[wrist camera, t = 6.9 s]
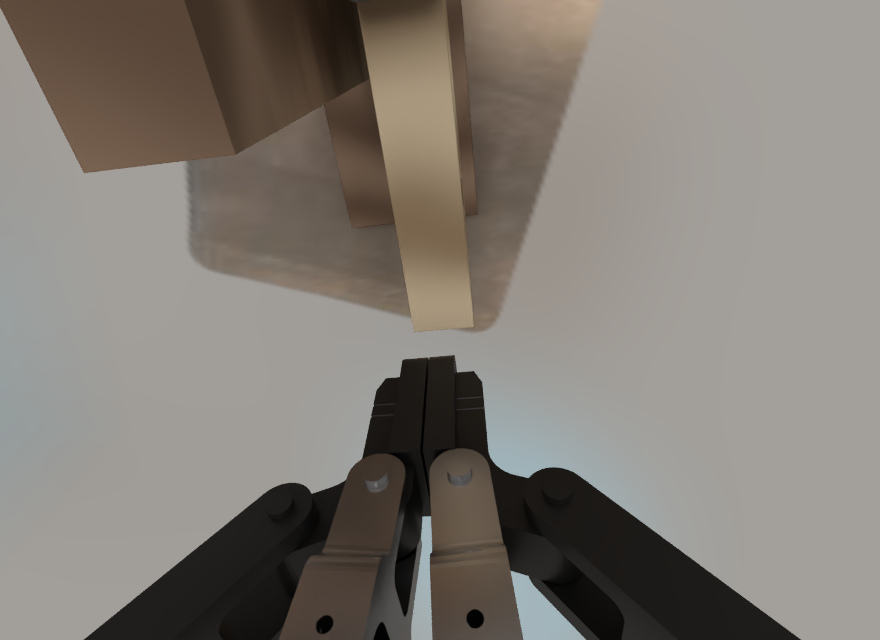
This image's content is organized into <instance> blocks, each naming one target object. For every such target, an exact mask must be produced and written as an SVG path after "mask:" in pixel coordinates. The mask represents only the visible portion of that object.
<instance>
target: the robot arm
mask: <svg viewBox="0 0 880 640" xmlns="http://www.w3.org/2000/svg"><path fill="white" fill-rule="evenodd" d="M371 416H372V418H371V420H370V425H369V429H368V434H367V439H366V444H365V448H364V453H363V458H362V460H360V461H359V462H358V463H356V464H355V465H354V466H353V468H352V469H351V470H350V472H349V474H348V476H347V479H346V480H345V481H344V482H342V483H340V484H339V485H336V486H334V487H331V488H328V489H325V490H322V491H319V492H316V493H313V494H311V492H310V490H309V489H308V488H307V487H306V486H304V485H302V484H298V483H286V484H282V485H279V486H276V487H274V488H272V489H270V490H269V491H267V492H266V493H265V494H263V495H262V496H261V497H260V498H259V499H257V500H256V501H255V502H253V503H252V504H251V505H250V506H248V507H247V508H246V509H245V510H244V511H242V512H241V513H240V514H239V515H238V516H236V517H235V518H234V519H232V520H231V521H230V522H229V523H228V524H226V525H225V526H224V527H223V528H221V529H220V530H219V531H218V532H216V533H215V534H214V535H213V536H211V537H210V538H209V539H208V540H207V541H205V542H204V543H203V544H202V545H200V546H199V547H198V548H197V549H195V550H194V551H193V552H192V553H190V554H189V555H188V556H187V557H186V558H184V559H183V560H182V561H180V562H179V563H178V564H177V565H176V566H175V567H173V568H172V569H171V570H169V571H168V572H167V573H166V574H164V575H163V576H162V577H161V578H159V579H158V580H157V581H156V582H155V583H153V584H152V585H151V586H150V587H148V588H147V589H146V590H145V591H143V592H142V593H141V594H140V595H138V596H137V597H136V598H135V599H134V600H132V601H131V602H130V603H129V604H127V605H126V606H125V607H124V608H122V609H121V610H120V611H119V612H117V613H116V614H115V615H114V616H113V617H111V618H110V619H109V620H108V621H106V622H105V623H104V624H103V625H101V626H100V627H99V628H98V629H96V630H95V631H94V632H93V633H92V634H90V635H89V636H88V637H87V638H85V639H84V640H411V623H412V615H413V607H414V600H415V592H416V585H417V578H418V571H419V564H420V556H421V548H422V542H421V530H422V516H431V526H432V553H431V554H430V580H431V609H432V637H433V640H523V636H522V630H521V625H520V620H519V614H518V609H517V604H516V598H515V593H514V587H513V582H512V577H511V572H510V570H511V571H514V572H517V573H521V574H524V575H528V576H529V578H530V580H531V582H532V583H533V585H534V586H535V587H536V588H537V589H538V590H539V591H540V592H541V593H542V594H543V595H544V596H545V597H546V598H547V599H548V601H550V603H552V605H553V606H554V607H555V608H556V609H557V610H558V611H559V612H560V613H561V614H562V615H563V616H564V617H565V618H566V619H567V620H568V621H569V622H570V623H571V624H572V625H573V626H574V627H575V628H576V630H577V631H578V632H579V633H581V635H582V636H583V637H584V638H585V639H586V640H800V639H799V638H798V637H796V636H795V635H794V634H792V633H791V632H790V631H788V630H787V629H786V628H784V627H783V626H782V625H780V624H779V623H777V622H776V621H775V620H773V619H772V618H771V617H769V616H768V615H767V614H765V613H764V612H763V611H761V610H760V609H759V608H757V607H756V606H754V605H753V604H752V603H750V602H749V601H748V600H746V599H745V598H743V597H742V596H741V595H740V594H738V593H737V592H735V591H734V590H733V589H731V588H730V587H729V586H727V585H726V584H725V583H723V582H722V581H721V580H719V579H718V578H716V577H715V576H713V574H711V573H710V572H708V571H707V570H705V569H704V568H703V567H701V566H700V565H699V564H698V563H696V562H695V561H694V560H692V559H691V558H690V557H688V556H687V555H685V554H684V553H683V552H681V551H680V550H679V549H677V548H676V547H674V546H673V545H672V544H670V543H669V542H668V541H666V540H665V539H663V538H662V537H661V536H660V535H658V534H657V533H655V532H654V531H653V530H651V529H650V528H649V527H648V526H646V525H645V524H643V523H642V522H640V521H639V520H638V519H637V518H635V517H634V516H633V515H631V514H630V513H629V512H627V511H626V510H625V509H623V508H622V507H620V506H619V505H618V504H616V503H615V502H614V501H612V500H611V499H610V498H608V497H607V496H605V495H604V494H603V493H601V492H600V491H599V490H597V489H596V488H594V487H593V486H592V485H591V484H589V483H588V482H587V481H585V480H584V479H583V478H581V477H580V476H578V475H577V474H575V473H574V472H571V471H569V470H566V469H563V468H545V469H541V470H539V471H537V472H535V473H534V474H533V475H531V477H529V478H525V477H521V476H516V475H513V474H509V473H507V472H505V471H503V470H501V469H500V468H499V467H498V466H496V465H495V464H494V462H493V461H492V460H491V458H490V456H489V452H488V444H487V432H486V421H485V409H484V398H483V387H482V382H481V380H480V379H479V378H478V376H477V375H476V374H475V372H474V371H472V372H459V373H457V370H456V361H455V356H454V355H452V356H440V357H430V358H429V359H428V358H417V359H405V360H403V361H402V367H401V374H400V377H397V378H387V379H385V381H384V382H383V383H382V385H381V386H380V387H379V388H378V390H377V391H376V396H375V400H374V407H373V410H372V415H371Z"/></svg>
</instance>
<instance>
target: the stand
mask: <svg viewBox="0 0 880 640" xmlns="http://www.w3.org/2000/svg"><path fill="white" fill-rule="evenodd" d="M446 7H447V18H448V29H449V40H450V51H451V62H452V72H453V83H454V94H455V105H456V116H457V127H458V138H459V149H460V160H461V170H462V181H463V192H464V203H465V216H467V215H477V214H478V212H477V199H476V186H475V173H474V160H473V147H472V134H471V122H470V109H469V96H468V83H467V70H466V57H465V45H464V32H463V19H462V6H461V0H446ZM0 8H1V10H2V11H3V13H4V15H5V17H6V19H7V21H8V23H9V25H10V27H11V29H12V31H13V33H14V35H15V37H16V39H17V41H18V43H19V45H20V47H21V49H22V51H23V53H24V55H25V57H26V59H27V61H28V63H29V65H30V67H31V69H32V71H33V73H34V75H35V77H36V79H37V81H38V83H39V85H40V87H41V88H42V91H43V93H44V95H45V97H46V98H47V101H48V103H49V105H50V106H51V109H52V110H53V113H54V115H55V116H56V118H57V120H58V122H59V124H60V126H61V128H62V130H63V132H64V134H65V136H66V138H67V140H68V142H69V144H70V146H71V148H72V150H73V152H74V154H75V156H76V158H77V160H78V162H79V164H80V166H81V168H82V170H83V172H84V173H88V172H97V171H105V170H112V169H121V168H129V167H137V166H146V165H153V164H162V163H170V162H179V161H187V160H195V159H204V158H212V157H220V156H228V155H236V154H237V153H239V152H241V151H243V150H245V149H246V148H248V147H250V146H252V145H253V144H255V143H257V142H259V141H260V140H262V139H264V138H266V137H267V136H269V135H271V134H273V133H275V132H276V131H278V130H280V129H282V128H283V127H285V126H287V125H289V124H290V123H292V122H294V121H296V120H297V119H299V118H301V117H303V116H305V115H306V114H308V113H310V112H312V111H313V110H315V109H317V108H319V107H320V106H322V105H324V107H325V111H326V116H327V120H328V125H329V129H330V133H331V138H332V142H333V147H334V151H335V156H336V160H337V165H338V169H339V173H340V178H341V182H342V187H343V191H344V196H345V200H346V204H347V209H348V213H349V218H350V222H351V227H352V228H355V227H364V226H373V225H383V224H392V223H395V219H394V214H393V208H392V202H391V197H390V191H389V185H388V179H387V174H386V168H385V162H384V156H383V151H382V145H381V139H380V133H379V128H378V122H377V116H376V110H375V105H374V99H373V93H372V88H371V82H370V76H369V70H368V65H367V59H366V53H365V47H364V42H363V36H362V30H361V24H360V19H359V13H358V7H357V3H356V2H353V1H350V0H0Z"/></svg>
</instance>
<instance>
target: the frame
mask: <svg viewBox="0 0 880 640" xmlns="http://www.w3.org/2000/svg"><path fill="white" fill-rule="evenodd" d="M350 1H353V2H356V3H357V7H358V13H359V19H360V24H361V30H362V36H363V42H364V47H365V53H366V59H367V65H368V70H369V76H370V82H371V88H372V93H373V99H374V105H375V110H376V116H377V122H378V128H379V133H380V139H381V145H382V151H383V156H384V162H385V168H386V174H387V179H388V185H389V191H390V197H391V202H392V208H393V214H394V219H395V225H396V231H397V237H398V242H399V248H400V254H401V260H402V265H403V271H404V277H405V283H406V288H407V294H408V300H409V305H410V311H411V317H412V322H413V328H414V332H421V331H433V330H444V329H456V328H467V327H474V322H473V309H472V296H471V282H470V269H469V256H468V243H467V229H466V216H465V203H464V192H463V181H462V170H461V160H460V149H459V138H458V127H457V116H456V105H455V94H454V83H453V72H452V62H451V51H450V40H449V29H448V18H447V7H446V0H350Z"/></svg>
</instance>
